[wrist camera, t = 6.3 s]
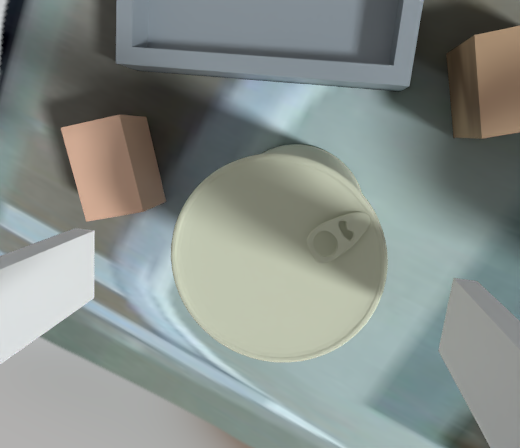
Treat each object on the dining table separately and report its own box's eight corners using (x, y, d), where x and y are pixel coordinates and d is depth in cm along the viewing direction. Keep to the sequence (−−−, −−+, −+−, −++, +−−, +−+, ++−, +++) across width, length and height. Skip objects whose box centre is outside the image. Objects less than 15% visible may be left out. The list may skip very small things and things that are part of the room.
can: (389, 239, 28) (433, 316, 16) (270, 297, 30) (235, 401, 18) (322, 117, 27) (319, 105, 15) (205, 187, 29) (124, 223, 17)
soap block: (95, 128, 29) (60, 127, 26) (147, 116, 29) (119, 114, 25) (116, 210, 31) (86, 221, 27) (167, 201, 30) (143, 211, 26)
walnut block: (446, 54, 25) (474, 35, 20) (537, 35, 24) (590, 11, 19) (453, 137, 26) (481, 138, 21) (541, 123, 25) (592, 120, 20)
